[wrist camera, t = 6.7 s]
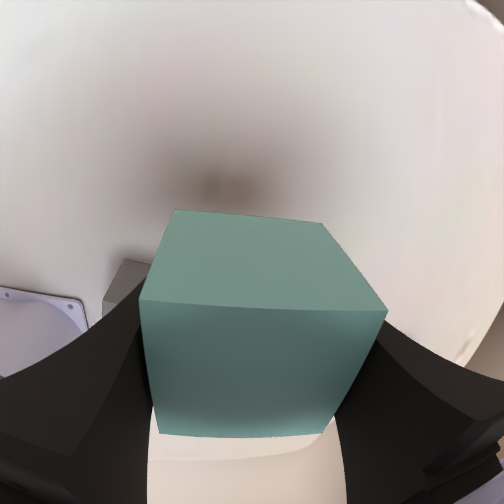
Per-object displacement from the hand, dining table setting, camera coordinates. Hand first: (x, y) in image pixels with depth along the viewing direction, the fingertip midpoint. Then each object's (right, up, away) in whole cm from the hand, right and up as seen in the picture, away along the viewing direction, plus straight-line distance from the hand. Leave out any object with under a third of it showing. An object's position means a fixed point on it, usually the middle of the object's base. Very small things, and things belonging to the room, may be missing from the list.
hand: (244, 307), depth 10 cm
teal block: (0, +1, +1) cm, 2 cm away
